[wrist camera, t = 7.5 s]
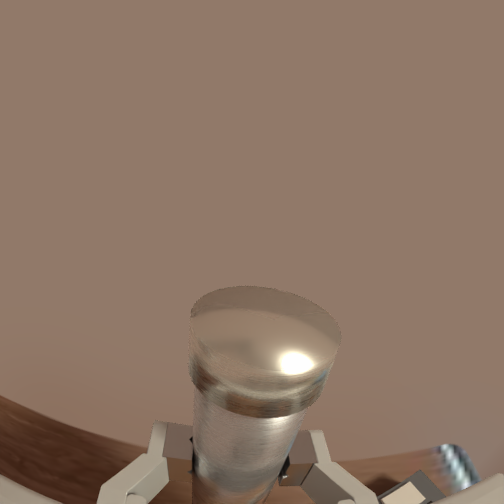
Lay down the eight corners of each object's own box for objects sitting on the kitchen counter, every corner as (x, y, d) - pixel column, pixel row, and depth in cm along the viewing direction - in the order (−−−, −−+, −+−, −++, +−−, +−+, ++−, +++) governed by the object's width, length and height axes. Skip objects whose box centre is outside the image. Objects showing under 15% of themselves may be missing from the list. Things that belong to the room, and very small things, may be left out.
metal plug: (199, 553, 9) (214, 381, 5) (181, 502, 13) (178, 287, 8) (264, 539, 11) (370, 351, 6) (241, 492, 14) (296, 283, 9)
